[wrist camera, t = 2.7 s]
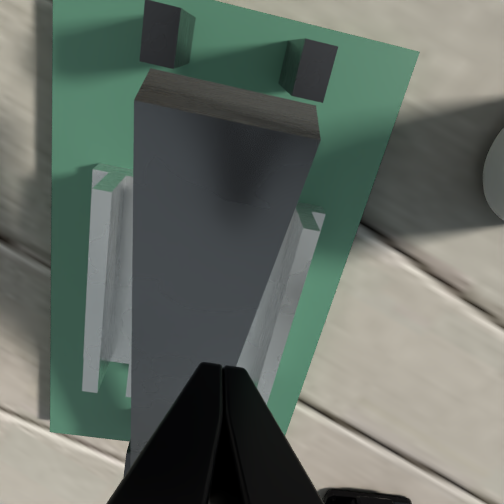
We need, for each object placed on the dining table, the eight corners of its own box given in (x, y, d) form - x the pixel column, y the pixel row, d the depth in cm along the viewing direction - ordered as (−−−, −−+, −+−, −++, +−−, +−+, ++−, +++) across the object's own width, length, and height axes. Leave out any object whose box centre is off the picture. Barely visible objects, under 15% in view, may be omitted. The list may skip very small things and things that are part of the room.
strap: (191, 469, 23) (187, 498, 22) (135, 463, 22) (129, 492, 22) (315, 105, 8) (321, 147, 7) (150, 68, 7) (130, 106, 6)
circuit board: (275, 442, 28) (276, 458, 27) (57, 416, 26) (50, 432, 25) (408, 51, 18) (419, 51, 17) (65, -34, 16) (53, -40, 15)
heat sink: (249, 444, 26) (251, 519, 22) (84, 424, 25) (54, 499, 21) (366, 59, 17) (408, 63, 12) (109, -4, 15) (62, -22, 11)
